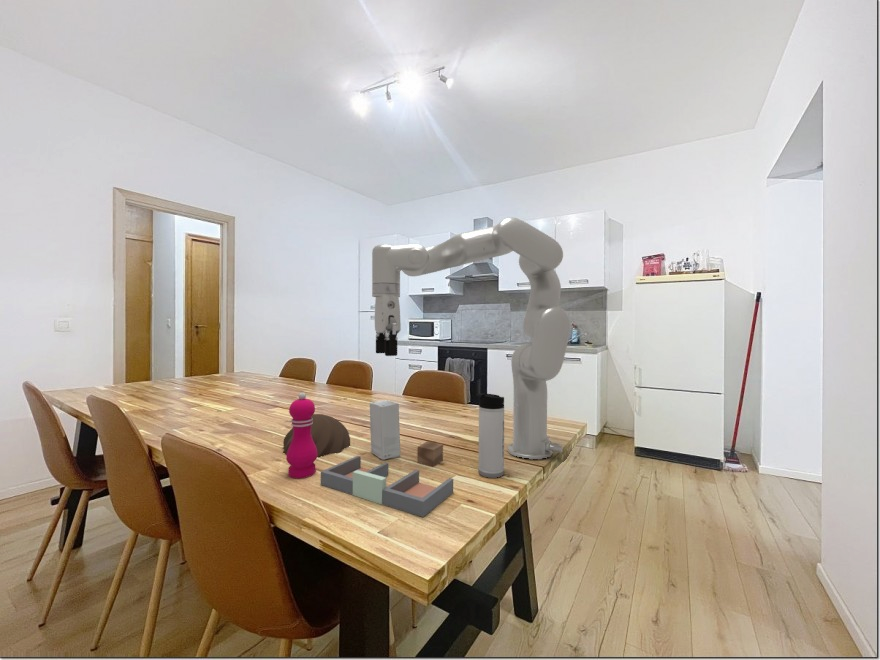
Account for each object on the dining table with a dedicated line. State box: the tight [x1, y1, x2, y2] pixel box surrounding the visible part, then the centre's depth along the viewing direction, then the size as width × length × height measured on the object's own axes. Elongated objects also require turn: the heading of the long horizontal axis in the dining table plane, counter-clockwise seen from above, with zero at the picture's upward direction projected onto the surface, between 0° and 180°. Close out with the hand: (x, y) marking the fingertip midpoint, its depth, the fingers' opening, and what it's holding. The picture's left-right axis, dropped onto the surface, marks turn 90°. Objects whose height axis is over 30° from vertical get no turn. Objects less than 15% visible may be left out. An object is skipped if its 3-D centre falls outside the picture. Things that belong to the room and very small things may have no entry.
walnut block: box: [416, 441, 444, 467], centre depth 99 cm, size 5×5×4 cm
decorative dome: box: [282, 413, 351, 458], centre depth 111 cm, size 19×20×10 cm
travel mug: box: [477, 392, 505, 479], centre depth 91 cm, size 6×7×20 cm
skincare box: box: [369, 399, 401, 461], centre depth 104 cm, size 8×6×15 cm
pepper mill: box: [285, 392, 318, 479], centre depth 90 cm, size 7×7×20 cm
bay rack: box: [320, 455, 454, 518], centre depth 82 cm, size 28×12×5 cm, turn 60°
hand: (386, 354), depth 100 cm, fingers open, 9 cm apart
